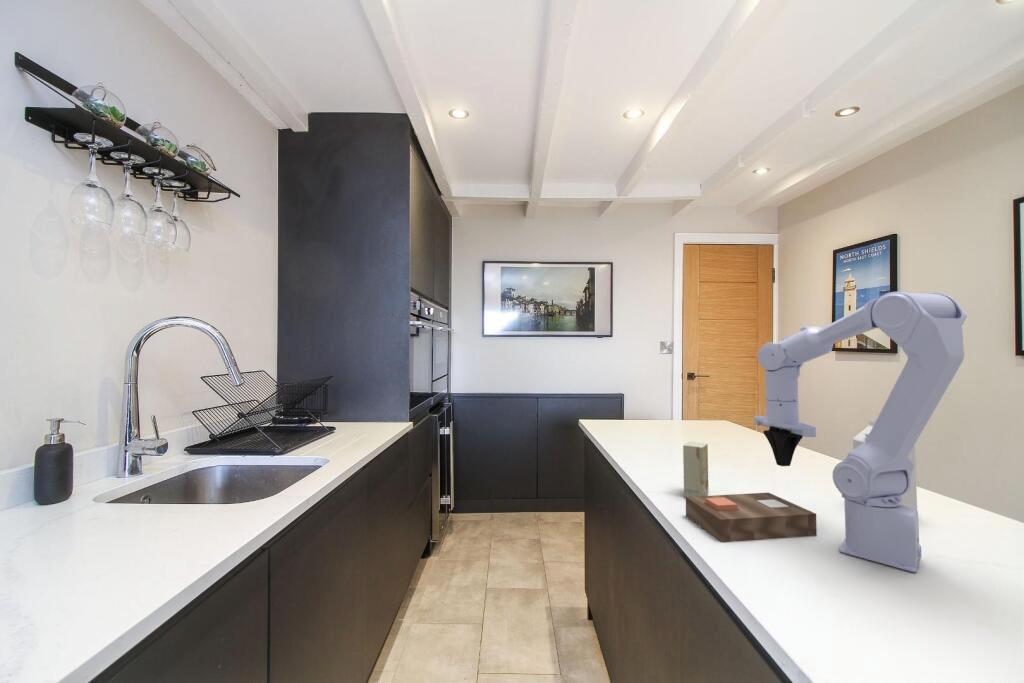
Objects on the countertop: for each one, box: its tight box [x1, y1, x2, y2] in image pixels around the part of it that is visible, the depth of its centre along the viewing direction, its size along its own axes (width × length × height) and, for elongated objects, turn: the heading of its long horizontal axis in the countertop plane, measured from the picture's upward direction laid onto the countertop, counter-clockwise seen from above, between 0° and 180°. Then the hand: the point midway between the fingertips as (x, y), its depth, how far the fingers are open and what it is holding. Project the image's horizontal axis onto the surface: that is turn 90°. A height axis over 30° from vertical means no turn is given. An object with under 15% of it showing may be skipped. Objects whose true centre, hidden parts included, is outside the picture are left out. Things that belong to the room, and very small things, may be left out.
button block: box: [685, 492, 818, 543], centre depth 82 cm, size 19×12×4 cm, turn 97°
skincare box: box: [682, 441, 710, 498], centre depth 100 cm, size 6×4×12 cm
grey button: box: [756, 499, 789, 508], centre depth 83 cm, size 4×4×4 cm
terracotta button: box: [706, 497, 737, 511], centre depth 82 cm, size 4×4×4 cm
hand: (783, 465), depth 87 cm, fingers closed
